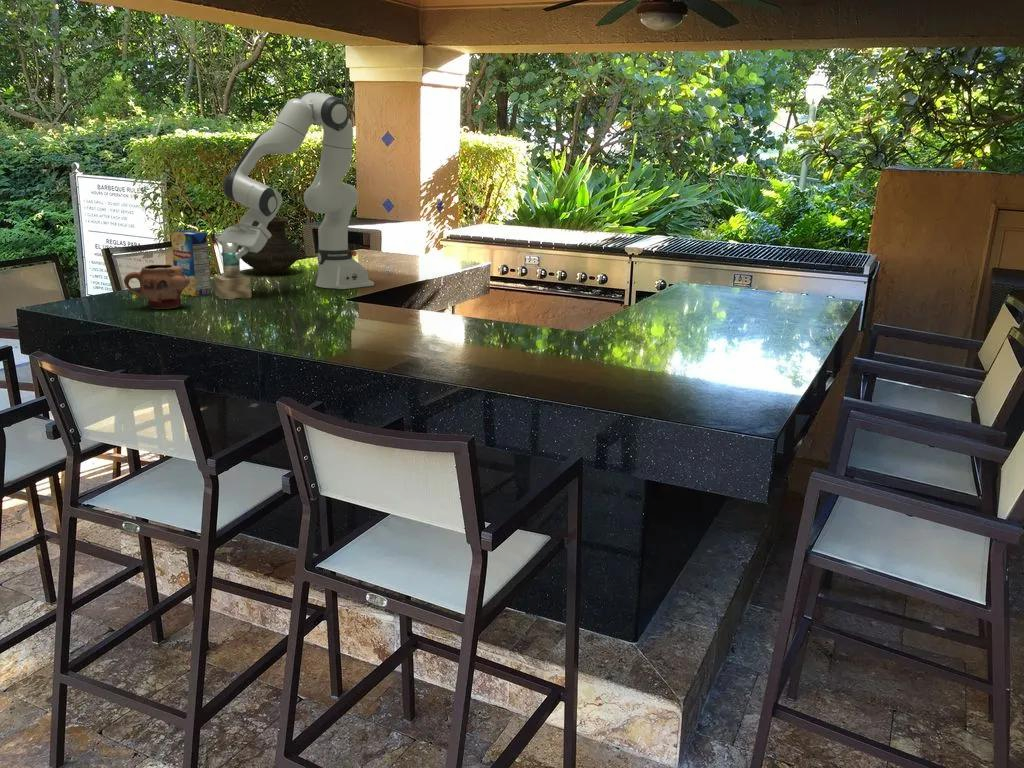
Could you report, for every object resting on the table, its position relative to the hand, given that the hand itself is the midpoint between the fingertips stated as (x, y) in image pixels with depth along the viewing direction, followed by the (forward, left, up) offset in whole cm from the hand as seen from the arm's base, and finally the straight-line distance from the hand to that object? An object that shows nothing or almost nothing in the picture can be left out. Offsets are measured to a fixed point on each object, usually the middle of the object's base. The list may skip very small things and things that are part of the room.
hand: (229, 257), depth 301 cm
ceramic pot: (-30, -48, -14) cm, 58 cm away
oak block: (-1, -1, -14) cm, 14 cm away
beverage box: (+10, -12, -14) cm, 21 cm away
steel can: (0, 0, -6) cm, 6 cm away
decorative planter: (+26, +9, -14) cm, 32 cm away
